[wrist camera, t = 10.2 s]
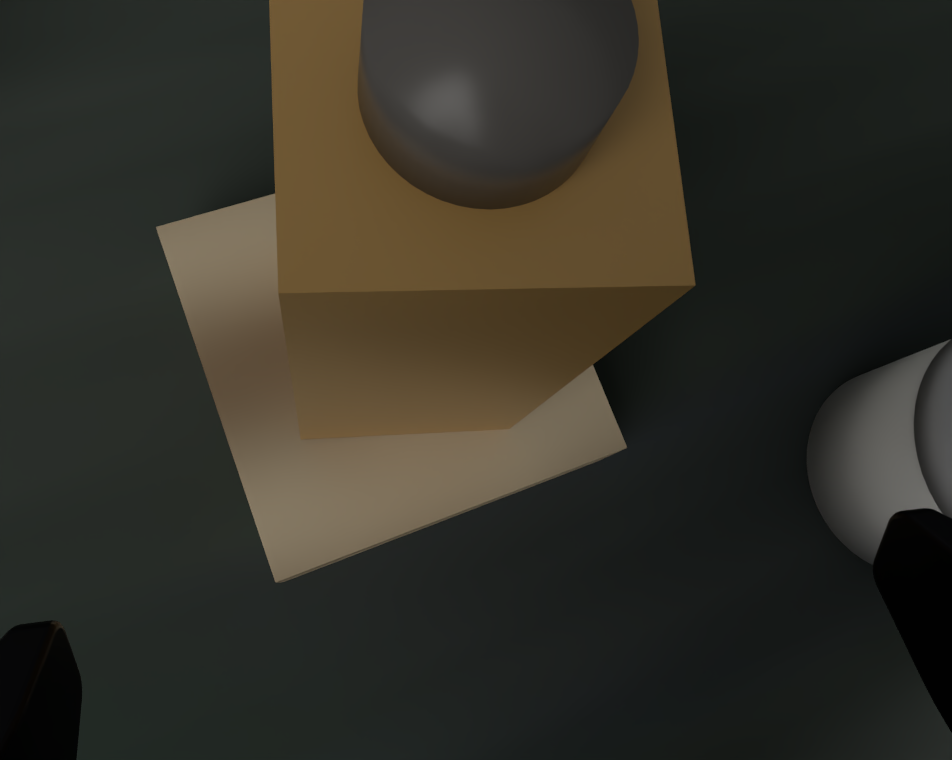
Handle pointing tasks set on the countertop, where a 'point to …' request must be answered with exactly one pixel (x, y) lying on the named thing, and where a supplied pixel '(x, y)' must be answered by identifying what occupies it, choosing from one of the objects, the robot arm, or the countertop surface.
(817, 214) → the countertop surface
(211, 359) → the beech block
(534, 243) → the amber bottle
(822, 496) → the white jar
